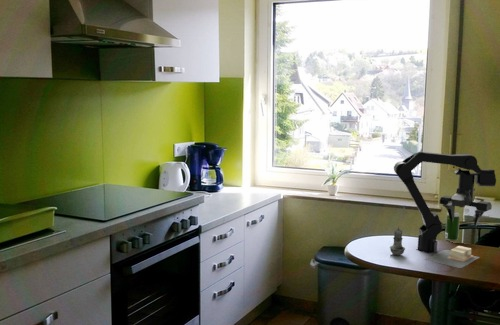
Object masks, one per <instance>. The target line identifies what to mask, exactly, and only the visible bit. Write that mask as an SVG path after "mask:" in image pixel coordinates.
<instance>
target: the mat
mask: <svg viewBox="0 0 500 325" xmlns="http://www.w3.org/2000/svg"><path fill="white" fill-rule="evenodd" d="M480 258H481V257H480V256H475V255H472V254H471V256H470V257H468V258H466V259H465V260H463V261H462V260H458V259H454V258H450V250H449V249H443V250H441V251H439V252H437V253H435V254H432V255H431V256H428V257H426V258H424V260H425V261H430V262H434V263H438V264H442V265H445V266H449V267H454V268H458V269H463V268H464V267H466V266H468V265H470V264H471V263H473V262H475V261H476V260H478V259H480Z"/></svg>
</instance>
